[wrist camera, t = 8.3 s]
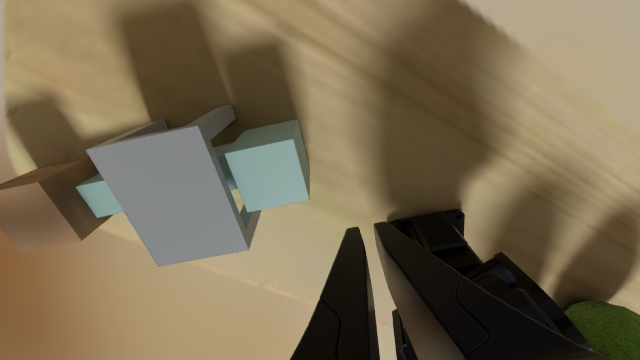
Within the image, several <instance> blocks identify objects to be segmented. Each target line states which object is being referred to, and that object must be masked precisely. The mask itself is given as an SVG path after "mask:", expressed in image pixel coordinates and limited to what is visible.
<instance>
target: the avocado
mask: <svg viewBox="0 0 640 360" xmlns="http://www.w3.org/2000/svg"><path fill="white" fill-rule="evenodd" d="M564 313H565V314H566V315H567V317H568V318H569V319H570V320H571V321H572V323H573V324H574V325H575V326H576V327H577V329H578V330H579V331H580V332H581V333H582V335H583V336H584V337H585V339H586V340H587V341H588V343H589V344H590V346H591V347H592V349H593V352H596V353H598V354H601V355H603V356H607V357H610V358H613V359H617V360H640V315H639V314H637V313H635V312H633V311H631V310H629V309H627V308H625V307H621V306H616V305H612V304H609V303H606V302H602V301H597V300H589V301H584V302H579V303H575V304H572V305H571V306H570V307H569V308H568V309H567V310H566V311H565V312H564Z"/></svg>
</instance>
